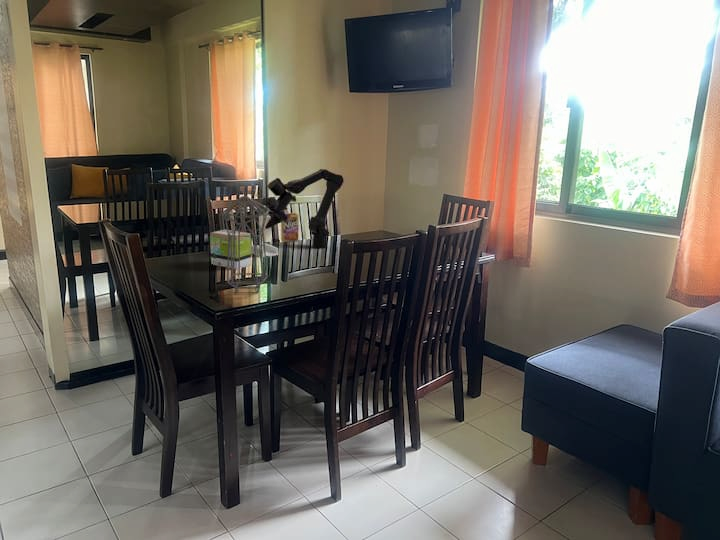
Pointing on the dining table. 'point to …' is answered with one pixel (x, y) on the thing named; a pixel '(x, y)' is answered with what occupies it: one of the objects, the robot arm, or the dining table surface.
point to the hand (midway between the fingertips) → (262, 227)
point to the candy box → (290, 228)
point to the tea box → (221, 249)
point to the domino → (266, 231)
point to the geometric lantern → (227, 212)
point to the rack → (268, 248)
